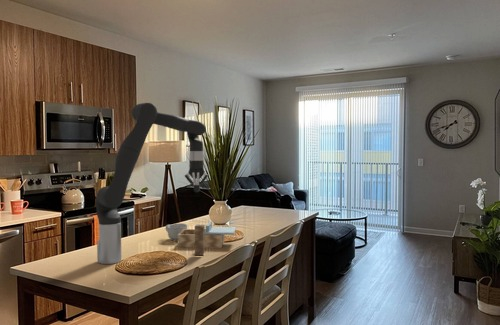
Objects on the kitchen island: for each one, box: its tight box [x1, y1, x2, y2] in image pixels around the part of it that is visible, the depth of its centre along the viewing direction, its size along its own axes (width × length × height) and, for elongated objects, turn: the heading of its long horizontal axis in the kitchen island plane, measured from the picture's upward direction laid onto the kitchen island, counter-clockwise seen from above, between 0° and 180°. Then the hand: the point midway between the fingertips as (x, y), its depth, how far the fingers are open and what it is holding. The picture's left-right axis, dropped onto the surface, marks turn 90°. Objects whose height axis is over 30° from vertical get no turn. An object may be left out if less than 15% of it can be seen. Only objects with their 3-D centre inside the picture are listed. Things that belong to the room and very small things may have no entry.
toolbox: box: [177, 228, 226, 249], centre depth 193 cm, size 22×13×7 cm, turn 87°
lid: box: [205, 221, 237, 236], centre depth 193 cm, size 15×13×4 cm
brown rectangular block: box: [194, 224, 206, 257], centre depth 176 cm, size 4×4×14 cm
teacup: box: [165, 222, 188, 242], centre depth 207 cm, size 14×11×8 cm
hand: (196, 192), depth 200 cm, fingers closed
